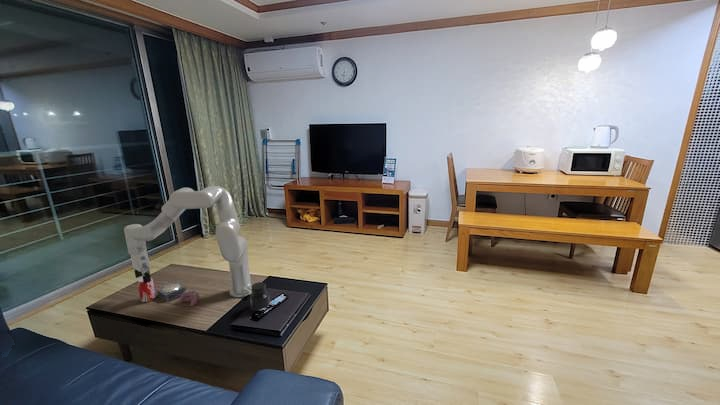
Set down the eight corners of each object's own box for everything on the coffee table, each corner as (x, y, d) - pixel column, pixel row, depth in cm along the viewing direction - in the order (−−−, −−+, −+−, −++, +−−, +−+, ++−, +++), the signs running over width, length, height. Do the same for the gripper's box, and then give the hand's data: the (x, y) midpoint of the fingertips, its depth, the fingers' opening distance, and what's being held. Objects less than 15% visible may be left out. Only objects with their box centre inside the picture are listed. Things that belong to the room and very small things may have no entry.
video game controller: (198, 305, 155) (201, 291, 156) (191, 306, 151) (194, 292, 152) (184, 302, 158) (187, 288, 159) (176, 303, 154) (180, 289, 155)
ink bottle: (263, 299, 156) (260, 279, 153) (274, 305, 151) (272, 283, 148) (247, 309, 148) (244, 287, 145) (258, 315, 144) (255, 292, 140)
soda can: (148, 303, 155) (144, 282, 152) (137, 302, 156) (132, 281, 153) (160, 296, 161) (156, 276, 158) (149, 295, 163) (144, 275, 160)
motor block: (187, 293, 163) (186, 286, 162) (167, 302, 155) (166, 295, 154) (174, 286, 171) (173, 279, 170) (154, 294, 164) (153, 287, 162)
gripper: (153, 250, 150) (159, 281, 154) (138, 242, 159) (144, 272, 163) (135, 255, 144) (142, 287, 148) (121, 247, 153) (128, 277, 157)
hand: (143, 279), depth 156 cm, fingers open, 9 cm apart
